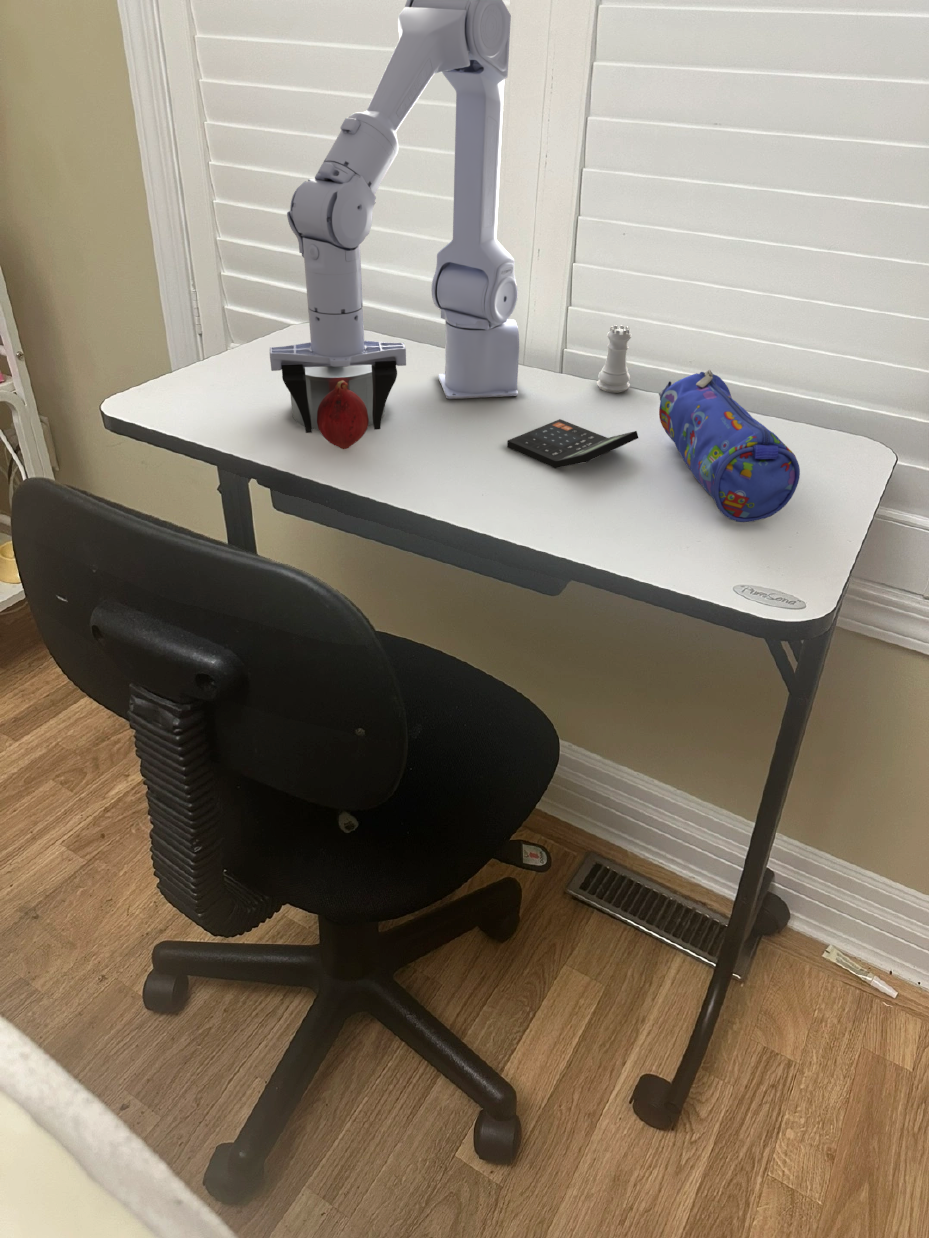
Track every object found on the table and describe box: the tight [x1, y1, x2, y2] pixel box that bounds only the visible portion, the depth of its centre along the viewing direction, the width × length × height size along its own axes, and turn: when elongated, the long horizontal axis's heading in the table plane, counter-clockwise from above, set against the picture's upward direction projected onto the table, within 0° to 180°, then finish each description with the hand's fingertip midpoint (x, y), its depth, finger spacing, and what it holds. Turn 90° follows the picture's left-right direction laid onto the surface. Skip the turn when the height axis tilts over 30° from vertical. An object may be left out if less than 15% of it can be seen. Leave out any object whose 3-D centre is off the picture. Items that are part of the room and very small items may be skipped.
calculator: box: [506, 418, 639, 469], centre depth 104 cm, size 9×12×3 cm
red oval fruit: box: [317, 380, 369, 450], centre depth 102 cm, size 6×6×8 cm
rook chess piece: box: [596, 324, 633, 394], centre depth 119 cm, size 4×4×8 cm
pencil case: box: [658, 369, 801, 523], centre depth 97 cm, size 22×9×10 cm, turn 6°
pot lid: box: [305, 365, 372, 382], centre depth 108 cm, size 12×12×4 cm
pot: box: [289, 376, 386, 431], centre depth 110 cm, size 11×11×6 cm
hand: (342, 427), depth 102 cm, fingers open, 7 cm apart
